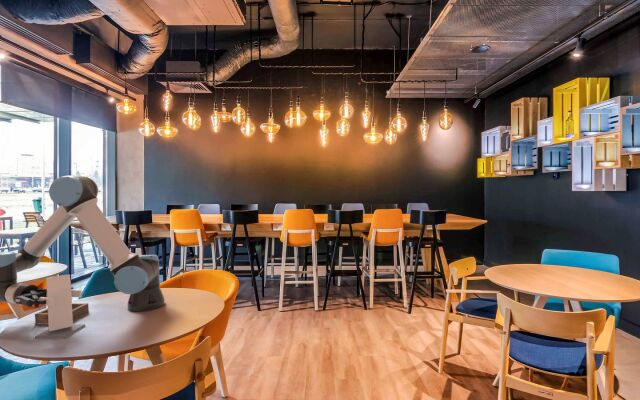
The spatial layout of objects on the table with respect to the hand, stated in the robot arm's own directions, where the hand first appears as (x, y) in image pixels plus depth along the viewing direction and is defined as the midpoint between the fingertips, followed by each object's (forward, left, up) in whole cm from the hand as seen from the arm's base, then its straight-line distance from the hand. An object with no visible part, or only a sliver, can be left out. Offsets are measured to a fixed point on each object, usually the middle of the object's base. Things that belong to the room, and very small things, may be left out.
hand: (68, 297), depth 136 cm
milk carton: (+4, -1, -11) cm, 12 cm away
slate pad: (+4, -1, -13) cm, 14 cm away
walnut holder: (+14, -16, -13) cm, 25 cm away
